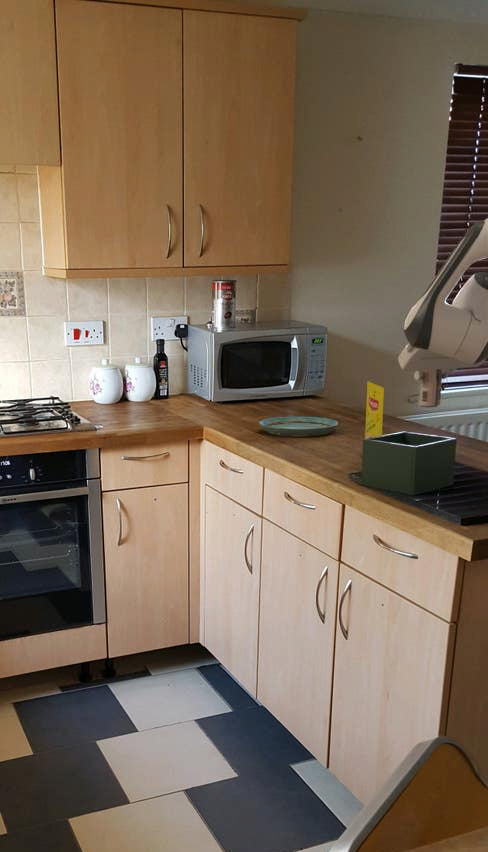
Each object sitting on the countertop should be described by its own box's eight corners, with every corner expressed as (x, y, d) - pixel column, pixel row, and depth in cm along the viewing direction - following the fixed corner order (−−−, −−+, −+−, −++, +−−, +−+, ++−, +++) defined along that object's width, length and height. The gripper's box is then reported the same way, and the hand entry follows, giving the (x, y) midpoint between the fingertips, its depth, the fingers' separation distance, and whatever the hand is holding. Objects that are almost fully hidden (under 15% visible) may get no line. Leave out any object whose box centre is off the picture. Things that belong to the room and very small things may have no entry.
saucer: (302, 442, 258) (302, 430, 257) (243, 433, 276) (243, 423, 275) (353, 431, 273) (353, 420, 272) (294, 423, 290) (294, 413, 289)
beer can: (442, 407, 202) (446, 353, 198) (421, 408, 202) (424, 354, 198) (436, 404, 206) (439, 352, 202) (416, 405, 206) (419, 353, 202)
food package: (362, 457, 233) (365, 381, 227) (366, 457, 233) (369, 381, 227) (377, 469, 219) (381, 387, 212) (382, 468, 219) (386, 387, 212)
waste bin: (453, 485, 199) (456, 438, 196) (413, 496, 191) (416, 447, 187) (400, 476, 210) (403, 431, 207) (360, 485, 202) (362, 439, 198)
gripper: (418, 349, 187) (393, 391, 199) (502, 344, 191) (472, 385, 203) (408, 326, 189) (384, 369, 201) (491, 322, 194) (463, 364, 206)
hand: (429, 377), depth 202 cm, fingers closed on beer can, 5 cm apart
